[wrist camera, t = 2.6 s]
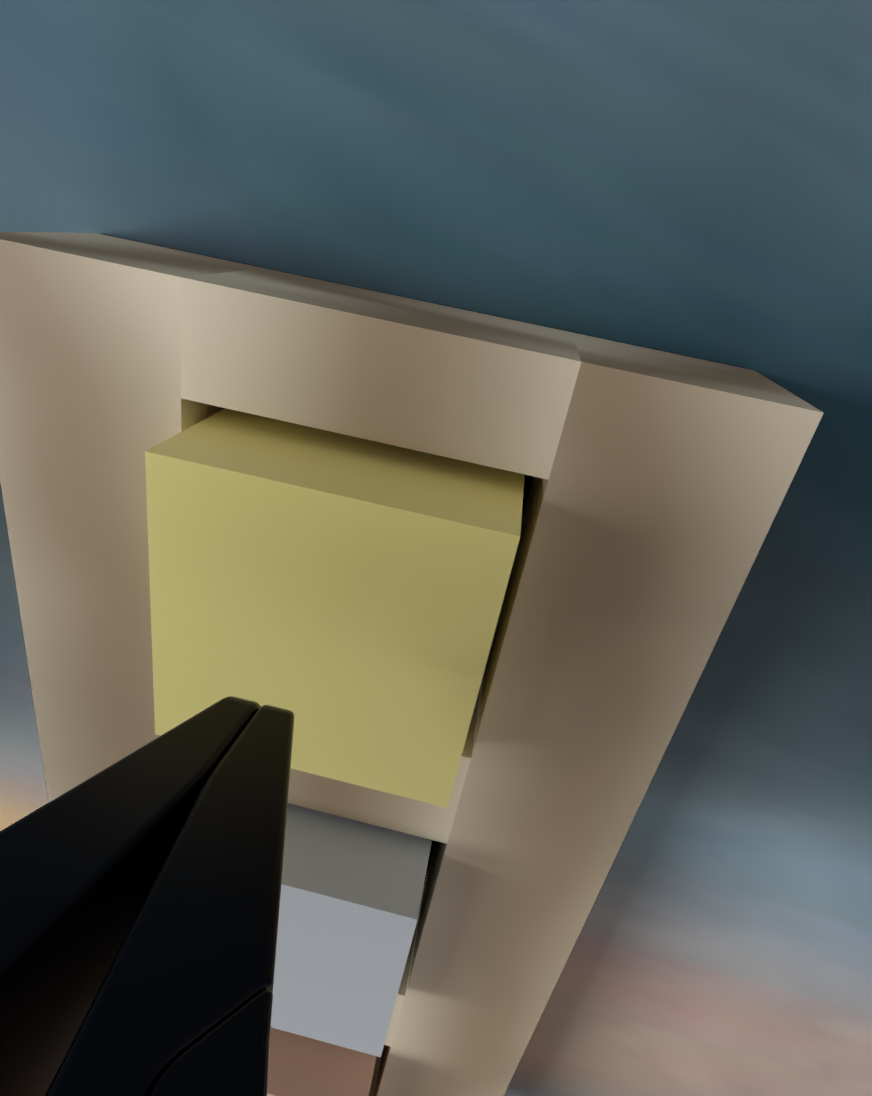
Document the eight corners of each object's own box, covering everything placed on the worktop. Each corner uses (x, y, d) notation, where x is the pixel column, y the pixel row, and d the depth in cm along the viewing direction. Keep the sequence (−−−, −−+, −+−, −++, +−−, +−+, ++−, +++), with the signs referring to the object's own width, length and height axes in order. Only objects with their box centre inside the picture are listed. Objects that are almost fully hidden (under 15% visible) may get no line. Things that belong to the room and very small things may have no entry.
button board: (144, 991, 23) (91, 1091, 20) (97, 233, 12) (-38, 231, 9) (467, 1080, 22) (457, 1195, 20) (754, 370, 11) (824, 412, 8)
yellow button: (232, 634, 13) (154, 734, 11) (242, 399, 11) (144, 451, 8) (466, 690, 13) (447, 807, 10) (525, 462, 11) (520, 536, 8)
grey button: (224, 877, 17) (164, 997, 14) (229, 739, 15) (159, 851, 12) (406, 926, 17) (380, 1057, 14) (440, 793, 14) (417, 919, 12)
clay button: (218, 1034, 20) (170, 1153, 18) (222, 944, 18) (167, 1065, 16) (367, 1075, 20) (341, 1203, 18) (390, 989, 18) (363, 1120, 15)
